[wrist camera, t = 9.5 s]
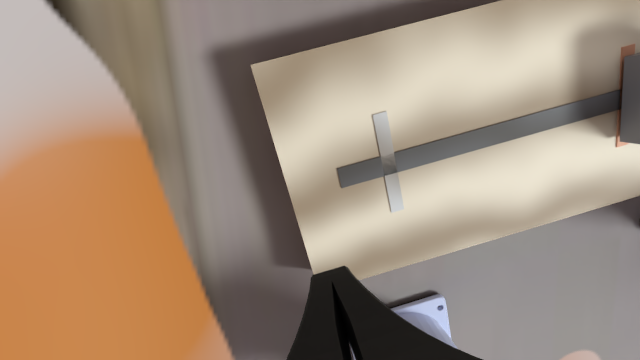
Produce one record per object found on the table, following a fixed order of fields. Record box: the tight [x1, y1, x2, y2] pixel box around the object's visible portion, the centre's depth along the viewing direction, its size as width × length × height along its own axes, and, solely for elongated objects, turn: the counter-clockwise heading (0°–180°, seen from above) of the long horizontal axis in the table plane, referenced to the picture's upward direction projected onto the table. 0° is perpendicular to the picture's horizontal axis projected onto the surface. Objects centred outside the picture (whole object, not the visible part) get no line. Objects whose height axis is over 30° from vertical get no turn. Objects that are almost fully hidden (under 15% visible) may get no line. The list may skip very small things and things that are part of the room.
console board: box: [251, 0, 640, 280], centre depth 19 cm, size 14×26×3 cm, turn 104°
